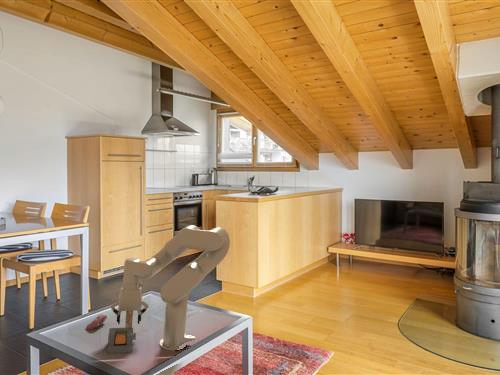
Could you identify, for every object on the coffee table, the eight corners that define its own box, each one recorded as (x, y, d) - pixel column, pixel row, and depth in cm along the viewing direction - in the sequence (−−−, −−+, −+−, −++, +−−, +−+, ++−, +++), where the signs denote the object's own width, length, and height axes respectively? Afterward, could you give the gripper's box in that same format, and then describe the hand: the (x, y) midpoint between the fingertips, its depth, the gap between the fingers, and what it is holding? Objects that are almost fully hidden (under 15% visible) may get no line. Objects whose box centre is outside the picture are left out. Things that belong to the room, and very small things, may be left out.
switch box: (132, 342, 176) (133, 327, 176) (131, 353, 167) (132, 337, 166) (108, 343, 173) (109, 328, 173) (106, 354, 164) (107, 338, 163)
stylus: (131, 335, 182) (133, 305, 181) (131, 337, 179) (133, 307, 179) (124, 335, 181) (126, 305, 181) (124, 338, 179) (126, 308, 178)
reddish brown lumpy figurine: (92, 334, 184) (99, 322, 183) (84, 328, 185) (91, 316, 184) (103, 326, 194) (110, 315, 193) (96, 321, 194) (103, 309, 194)
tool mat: (135, 334, 185) (135, 332, 185) (135, 340, 178) (135, 339, 178) (120, 334, 183) (120, 333, 183) (119, 341, 176) (119, 340, 176)
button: (125, 339, 172) (126, 333, 172) (125, 343, 168) (125, 338, 168) (115, 339, 171) (116, 334, 171) (115, 344, 167) (115, 338, 167)
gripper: (150, 283, 185) (148, 319, 186) (111, 283, 180) (109, 320, 181) (151, 288, 178) (148, 325, 179) (110, 288, 173) (108, 327, 174)
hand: (128, 322), depth 180 cm, fingers open, 8 cm apart
